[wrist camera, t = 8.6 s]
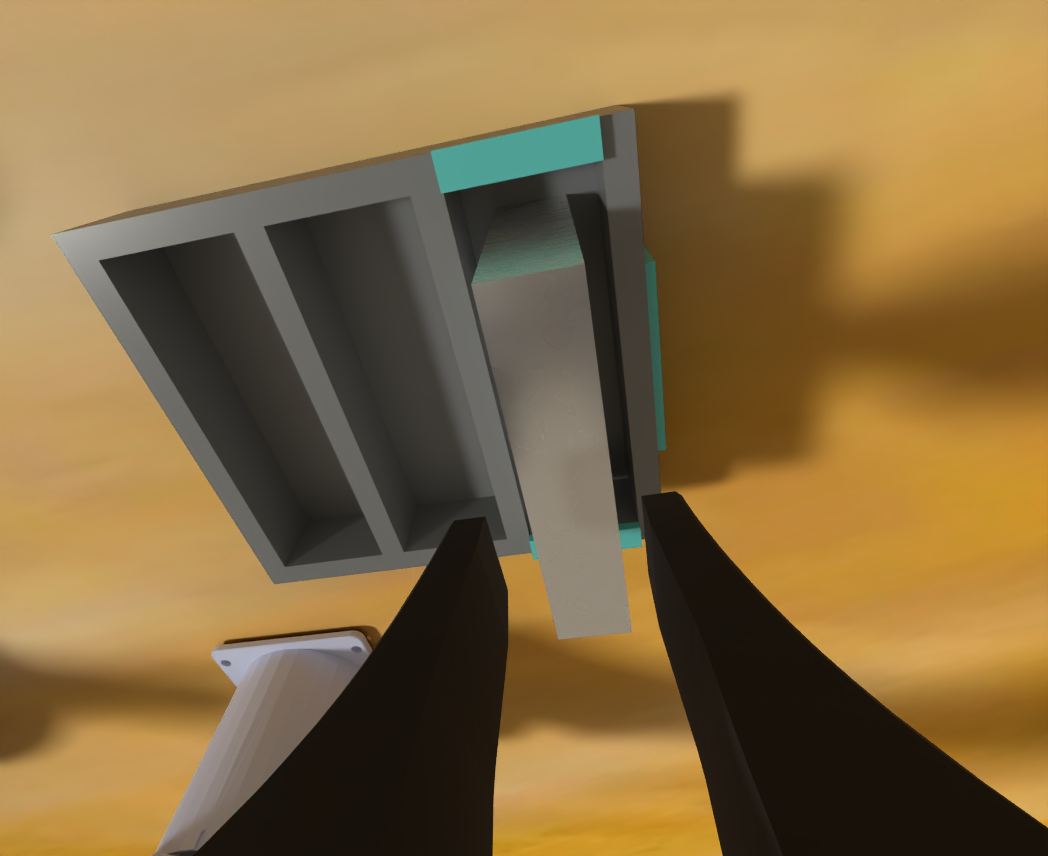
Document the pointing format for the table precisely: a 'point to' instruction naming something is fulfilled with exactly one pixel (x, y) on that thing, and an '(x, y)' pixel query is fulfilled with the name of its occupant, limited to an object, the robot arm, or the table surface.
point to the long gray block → (554, 409)
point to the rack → (376, 339)
